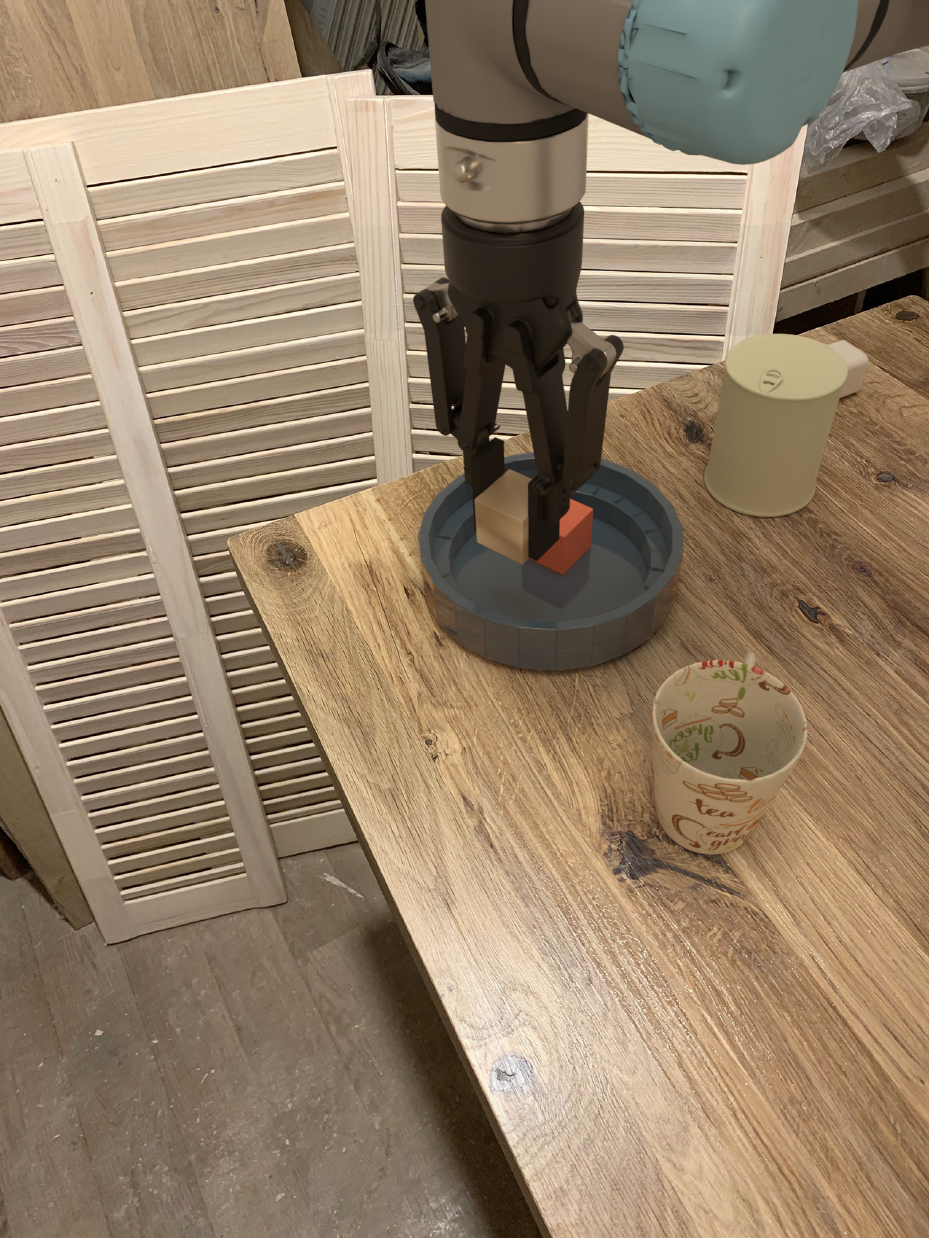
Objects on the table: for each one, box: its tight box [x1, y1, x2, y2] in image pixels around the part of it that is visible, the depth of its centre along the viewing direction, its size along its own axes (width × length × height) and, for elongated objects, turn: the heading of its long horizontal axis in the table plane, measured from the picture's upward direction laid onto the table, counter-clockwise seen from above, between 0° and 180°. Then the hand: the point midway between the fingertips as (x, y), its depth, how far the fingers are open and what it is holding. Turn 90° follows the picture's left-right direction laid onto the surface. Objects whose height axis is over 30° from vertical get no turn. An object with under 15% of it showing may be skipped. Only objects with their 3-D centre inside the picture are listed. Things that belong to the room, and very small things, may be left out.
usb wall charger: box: [826, 339, 869, 399], centre depth 86 cm, size 4×7×4 cm, turn 116°
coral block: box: [529, 499, 593, 575], centre depth 73 cm, size 4×4×4 cm
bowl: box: [417, 452, 684, 672], centre depth 71 cm, size 20×20×5 cm
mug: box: [650, 651, 808, 855], centre depth 56 cm, size 8×13×10 cm, turn 158°
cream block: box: [475, 469, 532, 564], centre depth 64 cm, size 4×4×4 cm
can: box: [703, 333, 848, 518], centre depth 75 cm, size 9×9×12 cm
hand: (516, 534), depth 65 cm, fingers closed on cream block, 4 cm apart
